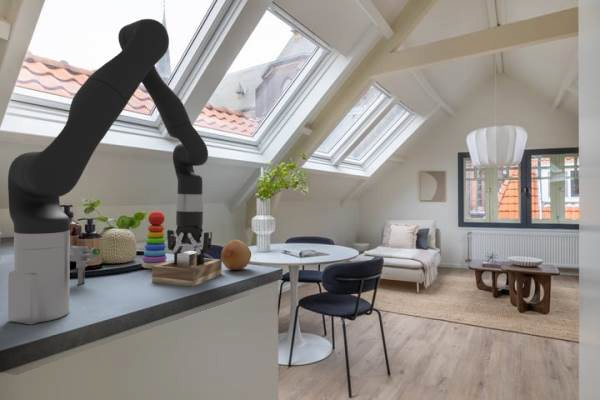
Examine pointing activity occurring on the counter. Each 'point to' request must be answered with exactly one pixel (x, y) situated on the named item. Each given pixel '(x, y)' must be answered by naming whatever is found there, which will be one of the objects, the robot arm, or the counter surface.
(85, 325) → the counter surface
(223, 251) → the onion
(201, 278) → the brown wooden tray
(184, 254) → the white block
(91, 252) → the mechanical component
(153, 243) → the stacking toy
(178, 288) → the counter surface
